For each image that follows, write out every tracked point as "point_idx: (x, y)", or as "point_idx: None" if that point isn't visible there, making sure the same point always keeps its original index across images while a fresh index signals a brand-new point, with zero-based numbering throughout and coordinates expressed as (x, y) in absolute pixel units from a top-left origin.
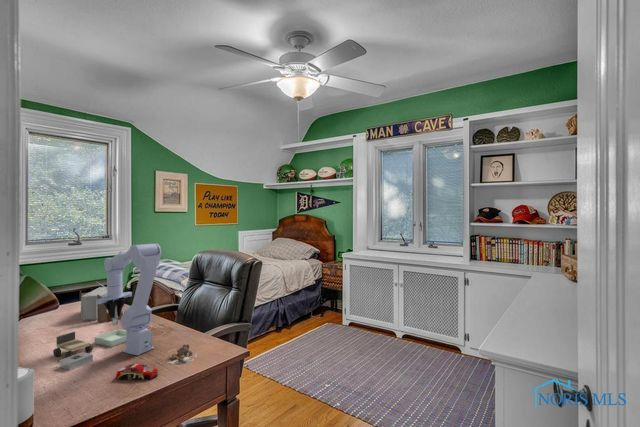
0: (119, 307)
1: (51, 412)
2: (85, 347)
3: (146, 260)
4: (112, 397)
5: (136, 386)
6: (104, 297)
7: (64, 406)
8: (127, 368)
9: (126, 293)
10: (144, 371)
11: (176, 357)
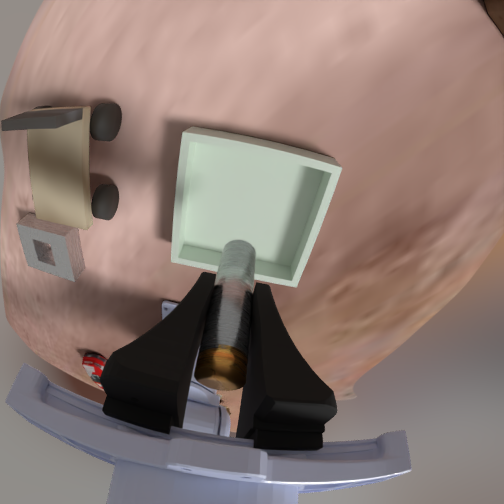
0: (246, 375)
1: (14, 321)
2: (97, 190)
3: None
4: (66, 363)
5: None
6: (87, 438)
7: (24, 327)
8: (91, 378)
9: (323, 490)
10: None
11: None
